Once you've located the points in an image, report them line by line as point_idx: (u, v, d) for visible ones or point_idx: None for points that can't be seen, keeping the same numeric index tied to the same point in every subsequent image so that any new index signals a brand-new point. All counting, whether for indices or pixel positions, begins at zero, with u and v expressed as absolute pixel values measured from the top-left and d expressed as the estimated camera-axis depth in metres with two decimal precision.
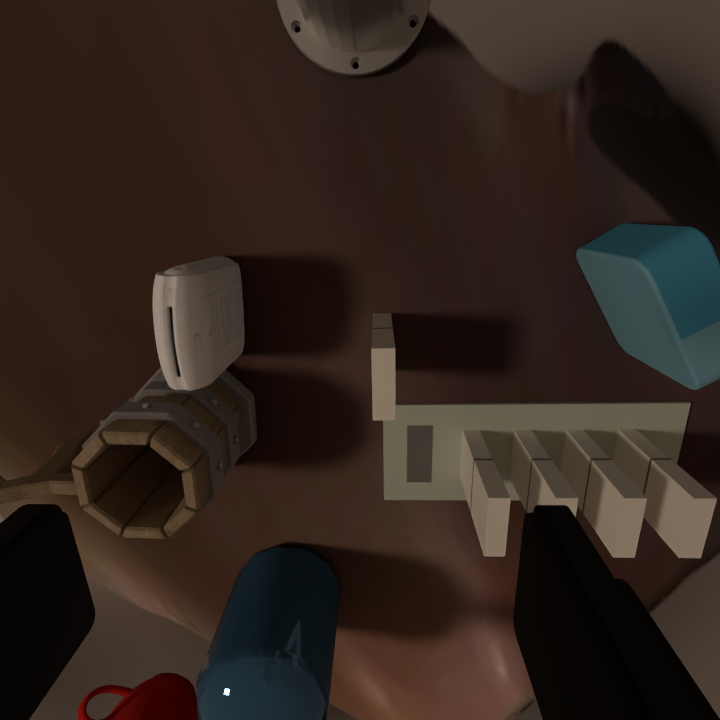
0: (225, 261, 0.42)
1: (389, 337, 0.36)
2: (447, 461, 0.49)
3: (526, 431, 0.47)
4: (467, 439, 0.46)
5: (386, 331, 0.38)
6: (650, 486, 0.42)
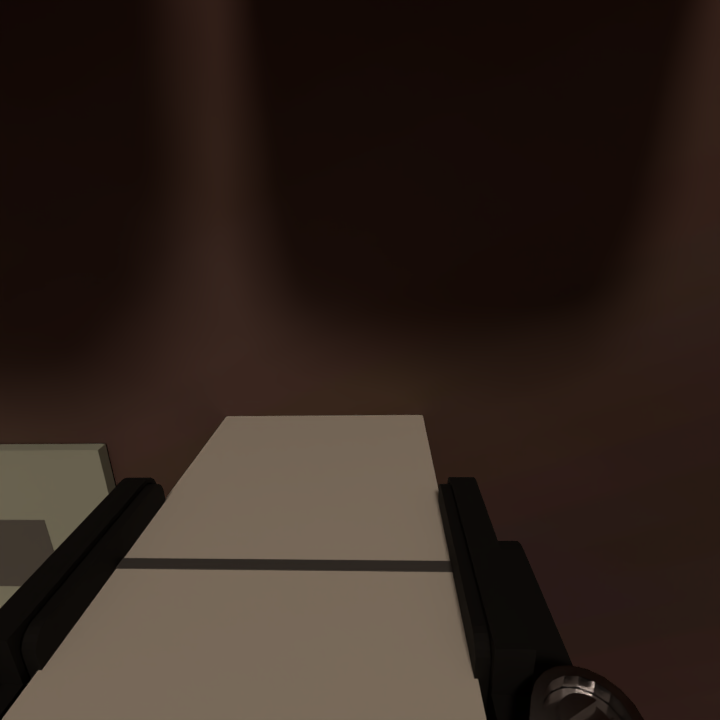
0: None
1: None
2: None
3: None
4: None
5: None
6: None
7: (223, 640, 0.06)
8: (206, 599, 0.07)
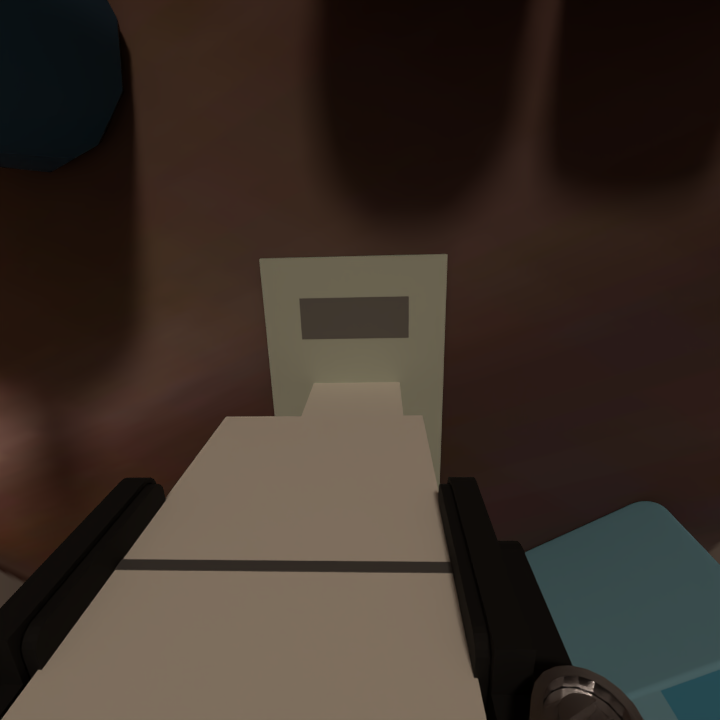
0: None
1: None
2: (343, 363, 0.31)
3: None
4: None
5: None
6: None
7: (222, 642, 0.06)
8: (205, 600, 0.07)
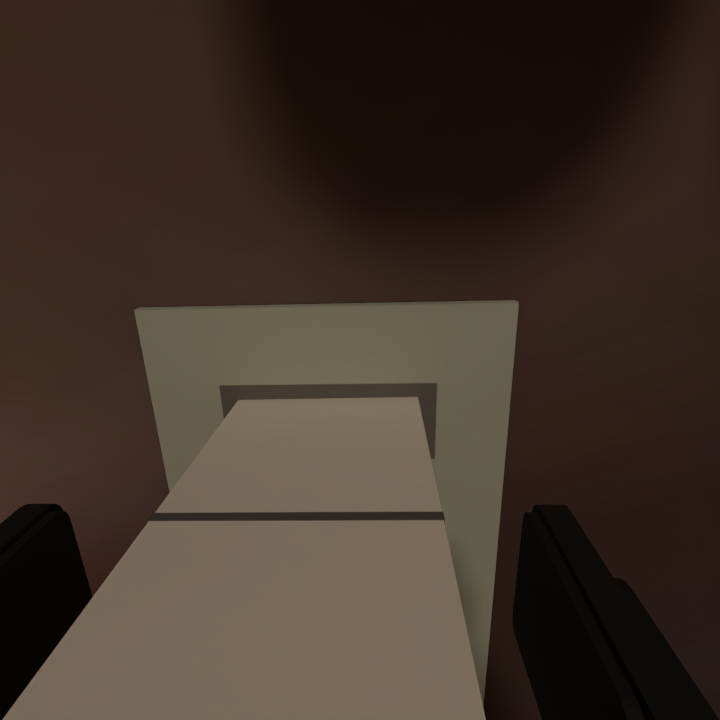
0: None
1: None
2: None
3: None
4: None
5: None
6: None
7: (247, 571, 0.08)
8: (230, 542, 0.08)
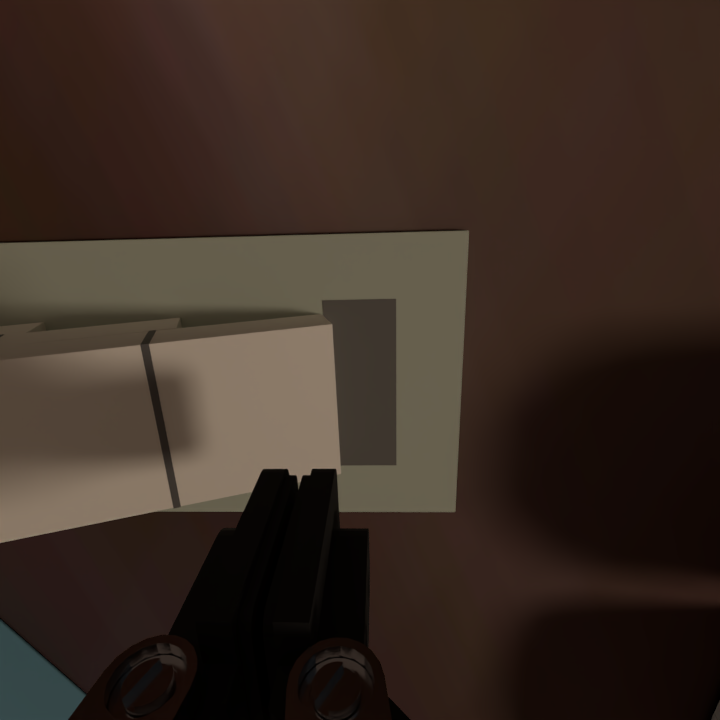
0: None
1: None
2: None
3: None
4: None
5: None
6: None
7: (109, 422, 0.14)
8: (131, 404, 0.14)
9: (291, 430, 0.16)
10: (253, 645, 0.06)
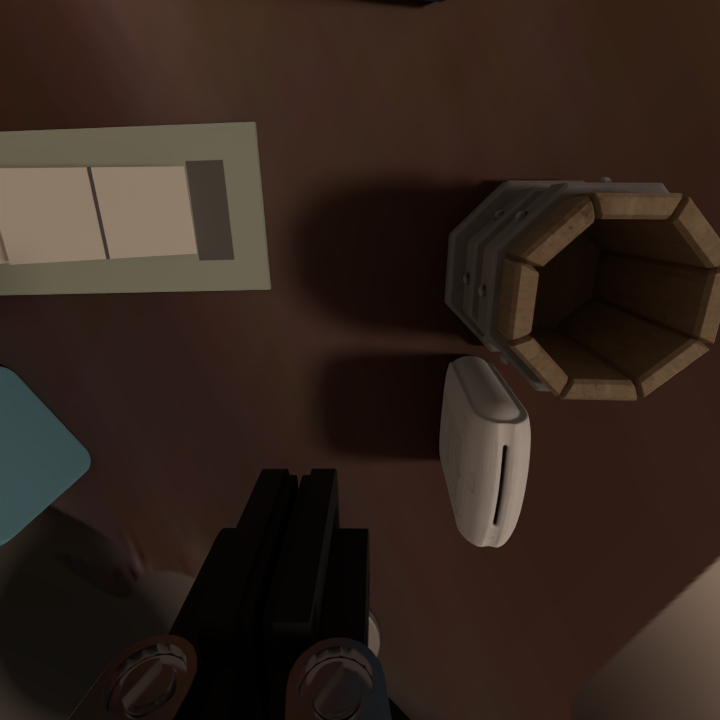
0: None
1: None
2: None
3: None
4: None
5: None
6: None
7: (72, 206, 0.30)
8: (83, 197, 0.30)
9: (166, 223, 0.32)
10: (253, 645, 0.06)
